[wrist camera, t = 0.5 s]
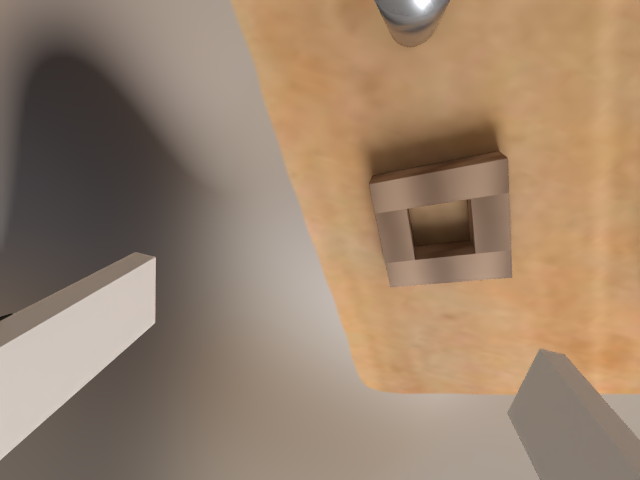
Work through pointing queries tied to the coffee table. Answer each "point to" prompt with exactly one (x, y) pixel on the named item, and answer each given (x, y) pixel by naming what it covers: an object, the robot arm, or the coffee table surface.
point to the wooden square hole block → (435, 188)
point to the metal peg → (411, 19)
